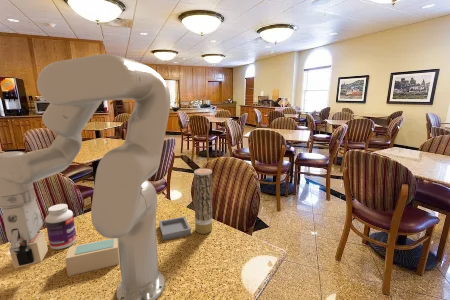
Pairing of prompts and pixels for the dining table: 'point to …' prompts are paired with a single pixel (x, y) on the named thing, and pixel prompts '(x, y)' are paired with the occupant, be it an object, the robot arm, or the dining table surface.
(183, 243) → the dining table surface
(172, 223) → the tray
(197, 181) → the bark textured cylinder
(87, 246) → the beige rectangular block
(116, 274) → the dining table surface
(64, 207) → the pill bottle
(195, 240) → the dining table surface
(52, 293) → the dining table surface
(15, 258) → the stub
